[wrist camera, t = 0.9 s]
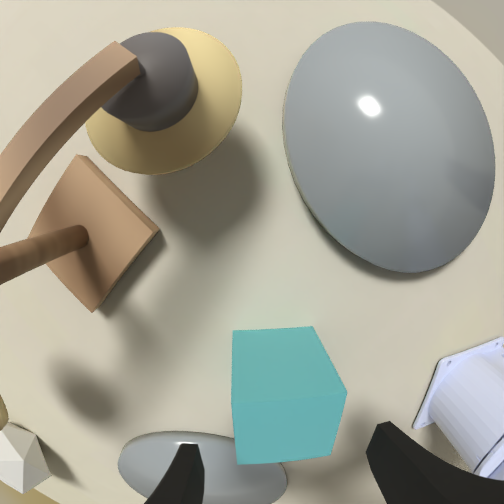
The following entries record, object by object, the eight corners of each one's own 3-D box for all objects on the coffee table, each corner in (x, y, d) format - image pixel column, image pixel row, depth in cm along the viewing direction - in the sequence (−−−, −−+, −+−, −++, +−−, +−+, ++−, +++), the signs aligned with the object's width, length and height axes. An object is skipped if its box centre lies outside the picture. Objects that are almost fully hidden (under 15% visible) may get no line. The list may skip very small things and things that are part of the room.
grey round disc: (291, 429, 17) (293, 440, 16) (280, 505, 20) (281, 513, 19) (98, 419, 16) (93, 428, 15) (146, 499, 20) (144, 507, 18)
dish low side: (469, 66, 12) (478, 62, 11) (479, 261, 15) (490, 265, 14) (276, 13, 11) (278, 2, 10) (283, 273, 14) (287, 280, 13)
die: (20, 443, 19) (37, 506, 12) (-31, 416, 13) (-23, 488, 6) (50, 423, 21) (71, 494, 14) (-6, 392, 15) (4, 475, 9)
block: (312, 326, 15) (347, 391, 9) (306, 385, 16) (330, 455, 10) (232, 330, 15) (231, 402, 9) (236, 390, 16) (237, 464, 10)
